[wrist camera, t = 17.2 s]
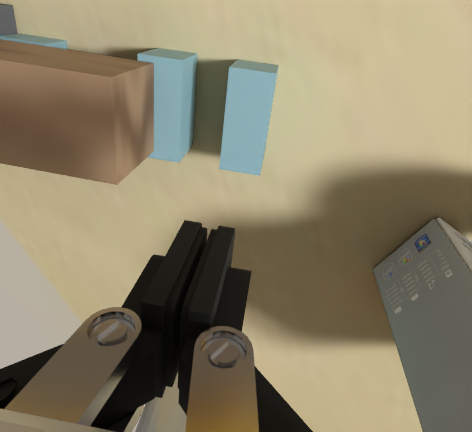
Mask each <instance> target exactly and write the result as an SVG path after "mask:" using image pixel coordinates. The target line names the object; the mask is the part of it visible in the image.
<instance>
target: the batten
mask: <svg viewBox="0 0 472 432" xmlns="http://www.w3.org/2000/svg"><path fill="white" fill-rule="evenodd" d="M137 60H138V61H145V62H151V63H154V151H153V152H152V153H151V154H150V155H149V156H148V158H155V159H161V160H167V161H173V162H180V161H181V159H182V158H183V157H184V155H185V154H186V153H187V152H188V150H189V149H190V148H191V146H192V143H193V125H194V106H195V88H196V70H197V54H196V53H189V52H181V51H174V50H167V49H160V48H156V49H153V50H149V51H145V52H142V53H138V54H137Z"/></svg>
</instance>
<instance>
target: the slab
mask: <svg viewBox="0 0 472 432" xmlns="http://www.w3.org/2000/svg"><path fill="white" fill-rule="evenodd" d="M153 151H154V63H151V62H145V61H138V60H132V59H125V58H119V57H112V56H106V55H99V54H93V53H86V52H80V51H73V50H67V49H60V48H54V47H47V46H41V45H34V44H28V43H21V42H15V41H8V40H2V39H0V163H2V164H8V165H13V166H18V167H24V168H29V169H35V170H40V171H45V172H51V173H56V174H62V175H67V176H72V177H78V178H83V179H89V180H94V181H99V182H105V183H110V184H116V185H117V184H118V183H119V182H120V181H121V180H123V179H124V178H125V177H126V176H127V175H128V174H129V173H130V172H131V171H132V170H134V169H135V168H136V167H137V166H138V165H139V164H140V163H141V162H142V161H143V160H144V159H146V158H147V157H148V156H149V155H150V154H151V153H152V152H153Z"/></svg>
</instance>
